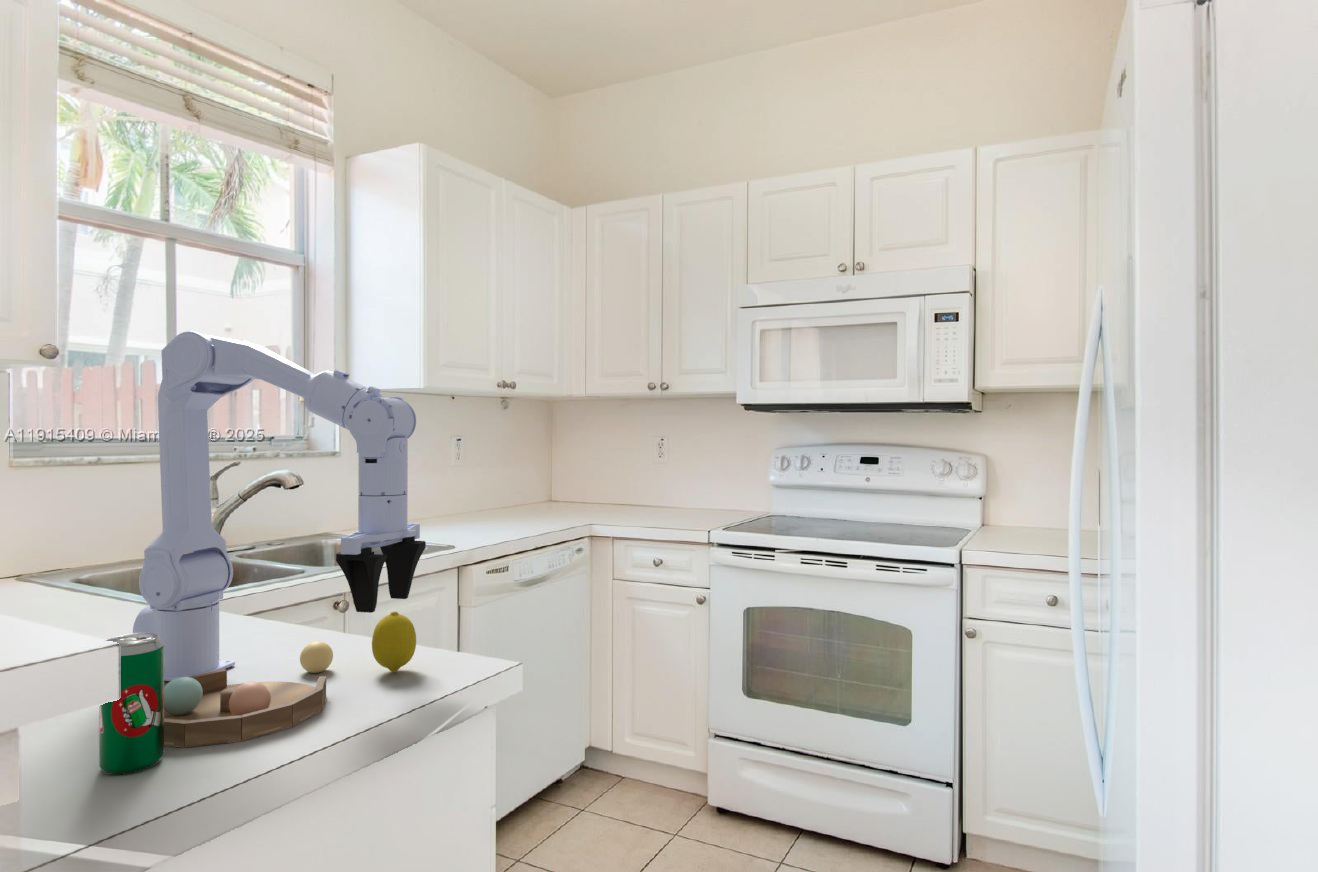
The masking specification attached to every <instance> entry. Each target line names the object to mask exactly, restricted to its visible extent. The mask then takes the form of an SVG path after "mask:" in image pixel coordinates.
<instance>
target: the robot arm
mask: <svg viewBox="0 0 1318 872" xmlns="http://www.w3.org/2000/svg"><path fill="white" fill-rule="evenodd" d="M161 371H162V374H161V375H162V377H161V382H160V386H159V389H158V394H157V413H158V414H157V415H158V443H159V466H160V467H159V468H160V469H159V470H160V471H159V472H160V490H161V491H160V493H161V494H160V495H161V497H160V498H161V518H162V520H161V522H162V523H161V524H162V532H161V533H160V534H159V535H158V536H156V538H155V539H154V540H152V542H151V543H150V544H149V545H147V547H145V549H144V550H143V553H144V554H143V556H144V557H143V558H144V560H143V565H142V568H141V571H140V573H139V577H138V587H139V591H140V594H141V597H142V598H143V600H144V601H145V602H146V603H147V604H149V605H147V606H145V607H144V608H142V609H141V610H140V611H139V612H138V614H137V615H136V618H135V620H134V623H133V627H132V634H135V633H155V634H158V635H159V636H160V638H159V640H160V641H161V642H162V644H163V645H164V682H170V681H172V680H174V679H176V678H179V677H189V676H193V675H198V674H203V673H208V672H212V671H217V670H222V669H225V670H226V669H228V668H230V667H232V666H235V665H236V661H235V660H224V659H223V660H222V659H220V601H221V600H223V599H224V592H225V591H226V590H227V589H228V588H229V586H230V585H231V584H232V581H233V577H234V566H233V563H232V560H231V559H230V557H229V554H228V552H227V541H226V539H225V538H224V537H223V536H222V535H221V534H219V533H218V532H217V531H216V530H215V529H214V528H213V524H212V523H213V522H212V501H211V499H212V498H211V497H212V495H211V475H210V473H211V471H210V469H211V468H210V448H209V447H210V446H209V423H208V418H209V416H208V410H209V409H210V408H211V407H213V405H215V403H217V402H218V401H219V400H220V399H221V398H223V397H226V396H227V395H229V394H231V393H234V392H236V391H238V390H240V389H241V388H243V387H246V386H248V385H249V384H250V383H252V382H253V381H254V380H261V381H263V382H266V383H268V384H270V385H272V386H276V387H277V388H280V389H282V390H285V391H288V392H290V393H292V394H294V395H297V396H300V397H302V398H303V403H304V406H305V408H306V409H307V410H308V411H309V412H310V413H312V414H314V415H315V416H316V415H317V416H319V417H321V418H322V419H325V420H327V421H328V422H330V423H333V424H334V425H338V426H339V427H341V428H344V429H345V430H347V431H349V433H350V435H352V437H353V439H354V440H355V442H356V443H355V444H356V453H357V454H358V458H357V459H358V463H357V464H358V467H357V468H358V469H357V470H358V472H357V473H358V483H357V484H358V485H357V486H358V487H357V488H358V490H357V491H358V493H357V494H358V495H357V496H358V504H357V505H358V507H357V508H358V509H357V510H358V511H357V512H358V513H357V514H358V515H357V516H358V518H357V519H358V520H357V521H358V529H357V530H356V531H354V532H352V533H350V534H349V535H346V536H343V537H340V552H339V551H338V552H336V553H335V562H336V563H337V564H338V566H339V567H340V569H341V570H342V572H343V574H344V577H345V579H346V580H347V584H348V586H349V589H350V593H351V597H352V602H353V604H354V608H355V611H356V612H357V613H369V614H370V613H374V612H375V611H376V609H377V603H378V594H379V593H378V592H379V584H380V583H379V582H380V578H381V574H382V570H383V567H384V565H385V567H386V572H387V583H388V592H389V593H388V594H389V597H390V599H393V600H394V599H397V600H406V599H408V598H409V595H410V592H411V587H412V584H413V579H414V575H415V571H416V569H417V566H418V563H419V561H420V558H421V556H422V555H423V553H424V551H425V550H426V547H427V542H426V541H425V540H417V539H420V537H421V535H420V534H421V533H420V532H421V530H420V529H421V525H420V523H408V498H409V497H408V491H409V490H408V487H409V486H408V485H409V484H408V482H409V481H408V480H409V479H408V477H409V476H408V465H409V464H408V463H409V462H408V456H409V455H408V454H409V453H408V451H409V450H408V445H409V444H408V439H409V438H410V437H411V436H412V435H413V434H414V432H415V429H416V427H417V416H416V413H415V410H414V408H413V407H412V406H411V405H410V403H408V402H406V401H405V400H404V399H403V398H402V397H400V396H389V397H383V395H381V389H380V388H378V387H376V386H369V387H367V386H365V385H362V384H360V383H358V382H356V381H354V380H352V379H349V378H350V373H348V372H346V371H344V370H340V369H334V371H332V370H324V371H321V372H319V373H314V372H312V371H310V370H308V369H306V368H305V367H303V366H301V365H298V364H297V363H295V362H294V361H291V360H289V359H287V358H286V357H283V356H282V355H279V354H278V353H276V352H274V351H272V350H270V349H268V348H267V347H264V346H263V345H259V344H256V343H252V342H249V341H247V340H245V339H238V338H237V339H236V338H235V339H232V338H226V337H220V336H214V335H209V334H208V335H207V334H202V333H199V332H197V331H192V330H190V331H189V330H188V331H183V332H180V333H179V334H177V335H176V336H175V337H173V339H172V340H171V341H169V343H168V344H167V345H166V346H164V347H163V348H162V349H161ZM376 548H377V549H378V548H380V551H381V553H382V554H377V553H375V551H372V550H373V549H376Z"/></svg>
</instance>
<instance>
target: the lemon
mask: <svg viewBox="0 0 1318 872" xmlns="http://www.w3.org/2000/svg"><path fill="white" fill-rule="evenodd" d="M414 626H415V625H414V624H413V622H412V621H411V620H410V618H408V617H407V616H405V615H403V614H402V613H401V614H400V613H399V612H398V611H391V612H390V614H387V615H386V616H384V617H382V618H381V619H380V620H379V621H378V622H377V624H376V625H375V628H374V629H373V633H372V638H371V649H372V655H373V657H374V659H375V662H377V663H378V665H380V666H381V667H383V668H386V669H387V670H389V671H390V672H391V673H397V672H398V670H400V669H401V668H402V667H404V666H405V665H407V664H408V663H409V662H410V661H411V660H412V659H413V656H414V654H415V652H416V647H417V634H416V633H417V632H416V629H415V627H414Z"/></svg>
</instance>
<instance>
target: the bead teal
mask: <svg viewBox="0 0 1318 872" xmlns="http://www.w3.org/2000/svg"><path fill="white" fill-rule="evenodd" d="M168 682H169V683H168ZM168 682H167V683H168V684H167V685H166V686H165V687H164V710H165V711H166V712H168V713H170V714H173V715H183V714H186V713H189V712H191V711H192V710H194V709H195V708H196V707H197V706H198V705H199V703H200V701H201V699H202V696H203V690H202V687H201V685H200V683H199V682H198V681H197V680H195V679H193V678H191V677H179V678H176V679H174V680H172V681H168Z"/></svg>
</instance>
